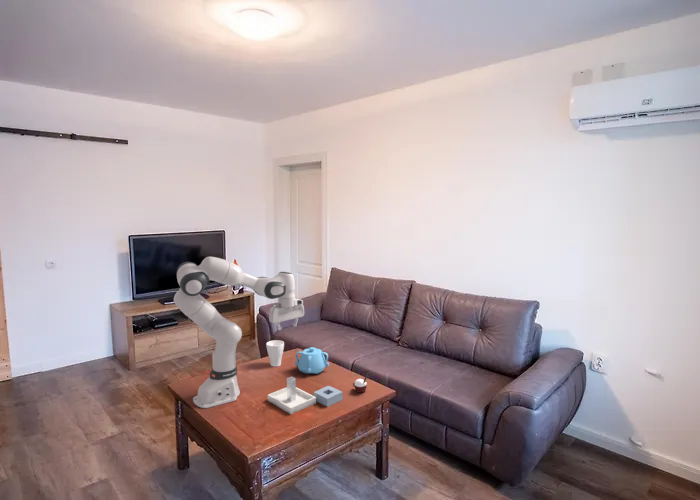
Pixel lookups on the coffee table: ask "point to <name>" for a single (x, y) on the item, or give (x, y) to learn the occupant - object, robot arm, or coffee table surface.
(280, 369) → the coffee table surface
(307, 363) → the decorative pot
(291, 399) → the pin
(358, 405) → the coffee table surface
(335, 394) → the socket block
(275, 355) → the cup
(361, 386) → the cocoa
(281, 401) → the tray
